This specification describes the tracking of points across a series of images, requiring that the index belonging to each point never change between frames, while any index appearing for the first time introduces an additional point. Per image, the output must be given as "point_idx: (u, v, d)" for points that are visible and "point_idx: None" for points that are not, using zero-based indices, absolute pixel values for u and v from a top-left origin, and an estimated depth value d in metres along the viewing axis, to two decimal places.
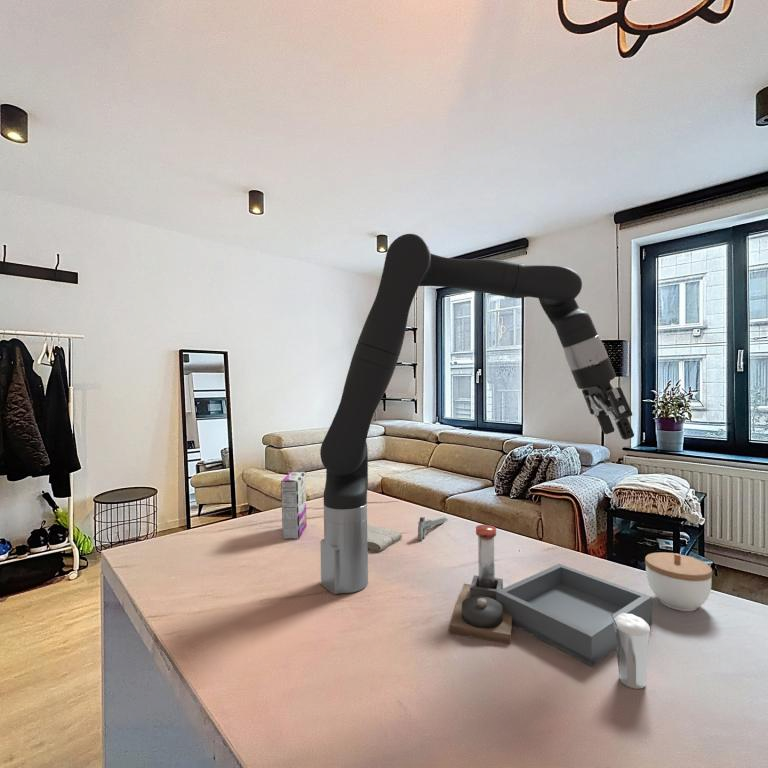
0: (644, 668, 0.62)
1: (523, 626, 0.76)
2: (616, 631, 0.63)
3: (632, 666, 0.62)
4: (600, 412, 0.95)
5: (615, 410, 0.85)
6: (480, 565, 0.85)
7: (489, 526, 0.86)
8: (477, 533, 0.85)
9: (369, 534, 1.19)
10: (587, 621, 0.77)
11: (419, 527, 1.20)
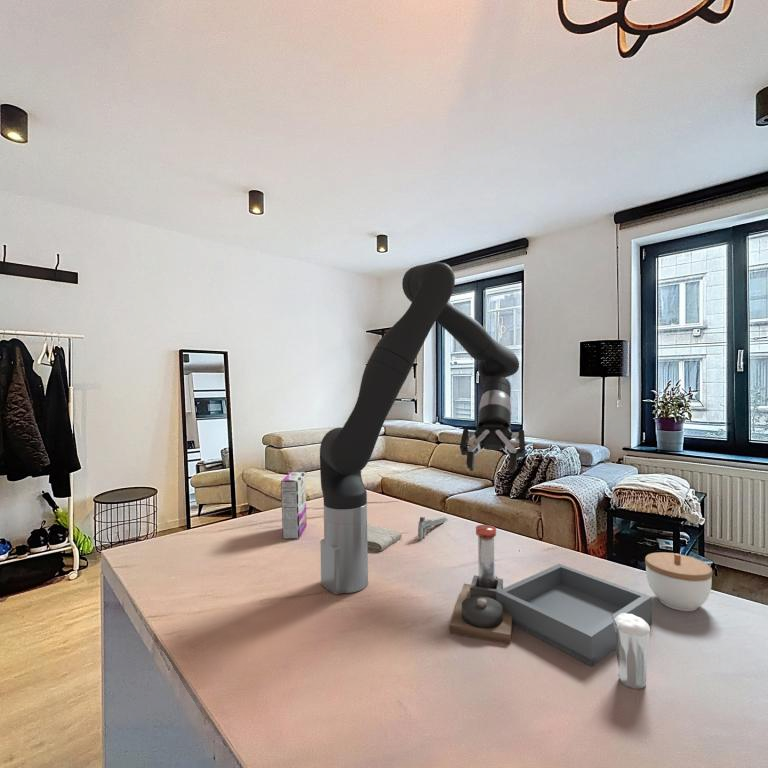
0: (644, 668, 0.62)
1: (523, 626, 0.76)
2: (616, 631, 0.63)
3: (632, 666, 0.62)
4: None
5: (522, 443, 0.98)
6: (480, 565, 0.85)
7: (489, 526, 0.86)
8: (477, 533, 0.85)
9: (370, 534, 1.19)
10: (587, 621, 0.77)
11: (419, 527, 1.20)
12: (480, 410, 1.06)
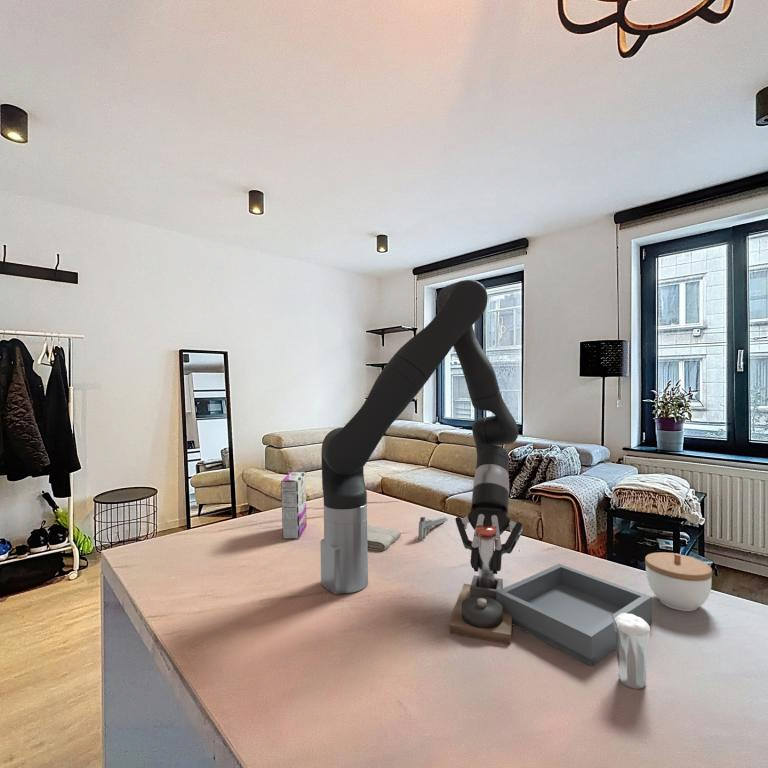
0: (644, 668, 0.62)
1: (523, 626, 0.76)
2: (616, 631, 0.63)
3: (632, 666, 0.62)
4: None
5: (511, 539, 0.85)
6: (480, 565, 0.85)
7: (489, 526, 0.86)
8: (477, 533, 0.85)
9: (370, 534, 1.19)
10: (587, 621, 0.77)
11: (420, 527, 1.20)
12: (474, 488, 0.94)
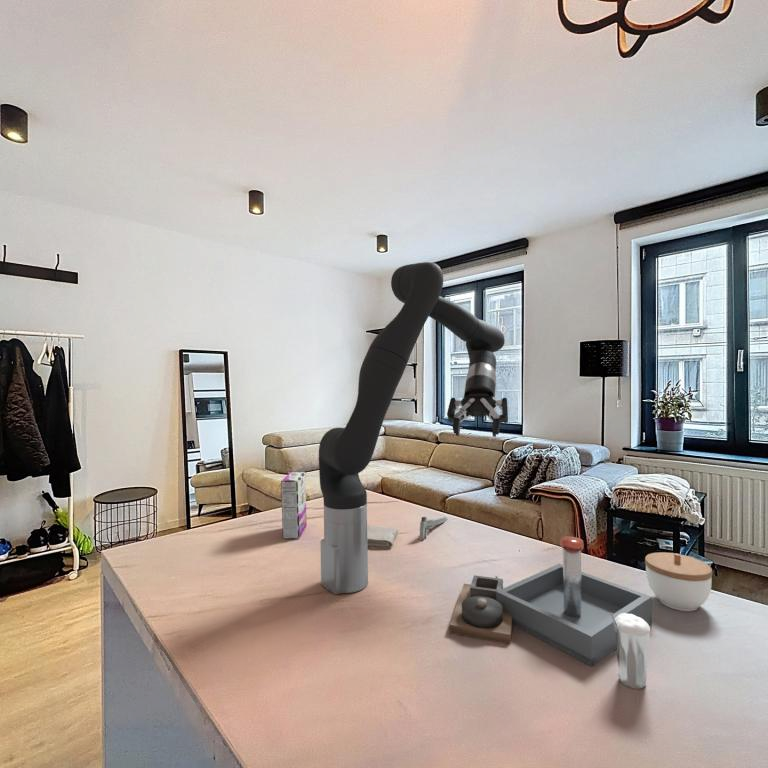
0: (644, 668, 0.62)
1: (523, 626, 0.76)
2: (616, 631, 0.63)
3: (632, 666, 0.62)
4: None
5: (505, 410, 1.04)
6: (566, 579, 0.79)
7: (574, 538, 0.81)
8: (563, 546, 0.79)
9: (372, 533, 1.20)
10: (587, 621, 0.77)
11: (421, 527, 1.20)
12: (467, 381, 1.13)
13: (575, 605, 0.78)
